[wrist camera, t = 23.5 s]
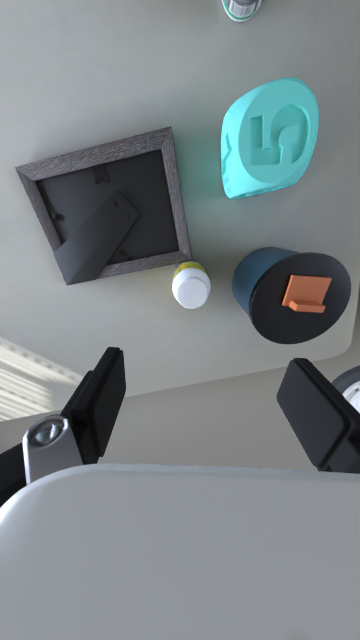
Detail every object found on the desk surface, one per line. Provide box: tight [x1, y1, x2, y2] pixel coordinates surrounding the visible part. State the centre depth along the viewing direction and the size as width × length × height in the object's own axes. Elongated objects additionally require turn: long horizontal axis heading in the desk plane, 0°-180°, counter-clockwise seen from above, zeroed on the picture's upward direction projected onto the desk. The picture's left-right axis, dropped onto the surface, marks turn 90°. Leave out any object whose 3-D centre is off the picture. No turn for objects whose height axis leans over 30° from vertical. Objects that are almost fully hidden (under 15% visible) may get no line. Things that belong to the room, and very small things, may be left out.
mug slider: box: [282, 275, 332, 313], centre depth 21 cm, size 4×4×2 cm
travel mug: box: [232, 247, 351, 344], centre depth 28 cm, size 12×12×11 cm
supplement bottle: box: [172, 261, 211, 309], centre depth 28 cm, size 5×5×10 cm
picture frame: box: [15, 126, 192, 285], centre depth 28 cm, size 16×2×21 cm
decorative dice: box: [221, 78, 319, 199], centre depth 22 cm, size 8×8×8 cm
